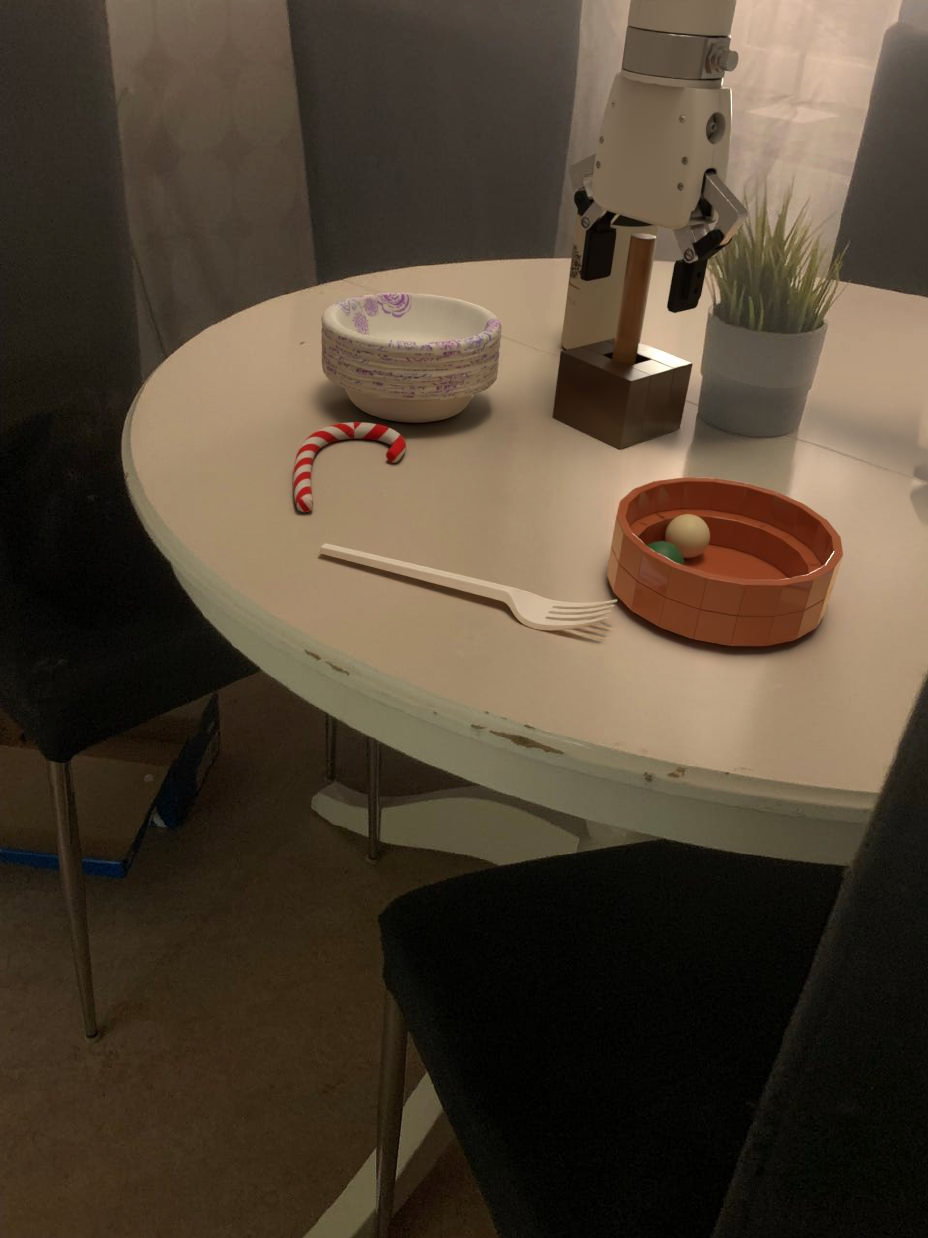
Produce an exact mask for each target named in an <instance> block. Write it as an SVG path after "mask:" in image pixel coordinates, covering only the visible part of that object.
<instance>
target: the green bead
mask: <svg viewBox="0 0 928 1238" xmlns="http://www.w3.org/2000/svg"><path fill="white" fill-rule="evenodd" d="M647 546H648V547H649V548H650V549H651V550H653V551H655V552H657V553H659V554H661V555H662V556H664V557H666V558H668V559H670V560H672V561H674V562H675V563H678V564H681V565H684V558H683V555H682V553H681V552H680V550H679V549H678V548H677V547H676V546H675V545H673V544H671V543H669V542H665V541H657V542H653V543H651V544H649V545H647Z"/></svg>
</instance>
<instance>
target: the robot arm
mask: <svg viewBox="0 0 928 1238" xmlns="http://www.w3.org/2000/svg"><path fill="white" fill-rule="evenodd" d="M737 5H738V0H630V3H629V9H628V15H627V16H628V17H627V26H626V32H625V37H624V38H625V39H624V46H623V54H622V61H621V67H620V72H619V71H618V72H616V73H615V75H614V78H613V81H612V84H611V88H610V90H609V93H608V96H607V97H608V98H607V101H606V105H605V108H604V112H603V117H602V121H601V125H600V130H599V134H598V139H597V146H596V149H595V150H596V151H595V153H593V154H591V155H590V156H587V157H586V158H584V159H582V160H579V161H578V162H575V163H573V164H572V165H570V167H569V171H568V173H569V178H570V181H571V185H572V190H573V192H574V195H573V201H574V204H575V206H576V209H577V211H579V213H580V215H581V219H580V225H581V227H582V229H584V230H586V235H585V243H584V251H583V258H582V266H581V274H580V278H581V279H582V280H584V281H591V280H596V279H601V278H606V277H609V276H610V274H611V270H612V263H613V256H614V249H615V242H616V235H617V233H616V228H613V227H611V224H612V223H613V222H614V221H615V220H616V219H617V217H618V216H619V215H623V216H626V217H629V218H632V219H636V220H639V221H642V222H646V223H649V224H653V225H656V226H659V228H664V229H667V230H672V231H673V235H674V237H675V240H676V243H677V246H678V249H679V252H680V255H681V256H682V258H681V259H677V260H675V262H674V264H673V270H672V276H671V281H670V287H669V292H668V298H667V303H666V308H667V311H668V312H670V313H673V314H678V313H682V312H685V311H690V310H693V309H696V308H697V307H698V306H699V302H700V301H699V300H700V299H701V297H702V294H703V289H704V282H705V278H706V272H707V266H708V262H709V260H712V259H714V258H715V257H716V256H717V254H718V253H719V252H721V250H723V249H724V248H725V247H726V246H728V245H729V244H730V243H731V242H732V240H733V237H734V235H736V233H738V231H739V230H740V228H741V227H742V225H743V224H744V223H745V221H746V220H747V218H748V216H749V213H748V210H747V208H746V207H745V206H744V205H743V203H742V202H741V201H740V200H739V199H738V197H736V195H735V194H734V193H733V192H732V191H731V189H729V187H728V186H727V177H728V169H729V161H730V153H731V140H732V121H733V102H732V87H731V86H727V85H723V83H724V78H725V75H726V74H725V73H726V72H729V73H730V72H734V71H735V69H736V68H737V66H738V64H739V53H738V51H736V50H731V49H730V46H731V45H730V44H731V40H732V38H731V37H732V31H733V25H734V22H735V21H734V20H735V15H736V9H737ZM714 223H715V226H714V227H713V229H712V230H711V228H710V225H712V224H714Z"/></svg>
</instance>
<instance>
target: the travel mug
mask: <svg viewBox="0 0 928 1238" xmlns="http://www.w3.org/2000/svg"><path fill="white" fill-rule="evenodd" d="M580 219H581V215H580V213H579V211H578V210H577V211H576V220H575V228H574V234H573V245H572V252H571V261H570V268H569V275H568V283H567V291H566V292H567V293H566V300H565V307H564V316H563V324H562V332H561V338H560V339H561V341H560V344H561V346H562V347H563V348H564V349H565V350H568V349H572V348H576V347H580V346H584V345H588V344H592V343H596V342H600V341H605V340H608V339H612V338H615V337H616V330H617V324H618V317H619V311H620V304H621V298H622V291H623V284H624V278H625V271H626V265H627V258H628V251H629V245H630V238H631V235H632V234H634V233H645V234H650V235H653V236H655V237H656V241H655V247H654V254H653V260H652V266H651V272H650V278H649V284H648V290H647V296H646V302H645V308H644V314H643V320H642V327H641V333H640V339H639V342H640V343H641V338H642V332H643V328H644V327H643V326H644V320H645V314H646V310H647V309H646V308H647V302H648V298H649V292H650V285H651V279H652V273H653V267H654V260H655V254H656V250H657V249H656V248H657V243H658V237H659V229H660V227H659V226H656V225H653V224H649V223H646V222H642V221H639V220H636V219H632V218H629V217H626V216H623V215H619V216H618V217H617V219H616V220H615V221H614V222H613V223H612V224H611V227H613V228H616V233H617V235H616V242H615V249H614V256H613V263H612V270H611V274H610V276H609V277H606V278H601V279H596V280H591V281H584V280H582V279H581V278H580V274H581V266H582V258H583V251H584V243H585V235H586V230H584V229H582V227H581V225H580Z"/></svg>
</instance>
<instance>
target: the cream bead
mask: <svg viewBox="0 0 928 1238" xmlns="http://www.w3.org/2000/svg"><path fill="white" fill-rule="evenodd" d="M665 541H666V542H669V543H671V544H673V545H675V546H676V547H677V548H678V549H679V550H680V552H681V553H682V555H683V558H693V557H696V556H698V555H700V554H701V553H702V552H704V550H705V549H706V548H707V546H708V544H709V541H710V531H709V528H708V526H707V524H706V523H705V522H704V521H703V520H702V519H701V518H700V517H698V516H695V515H691V514H685V515H680V516H678V517H676V518H675V519H673V520H672V521H671V522H670V523H669V525H668V527H667V529H666V533H665Z"/></svg>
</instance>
